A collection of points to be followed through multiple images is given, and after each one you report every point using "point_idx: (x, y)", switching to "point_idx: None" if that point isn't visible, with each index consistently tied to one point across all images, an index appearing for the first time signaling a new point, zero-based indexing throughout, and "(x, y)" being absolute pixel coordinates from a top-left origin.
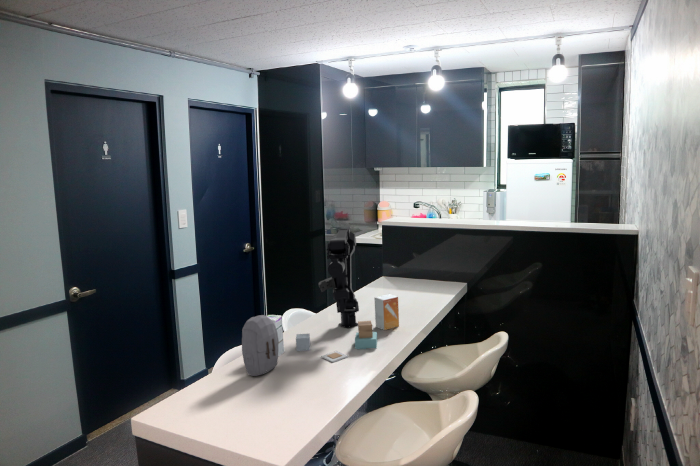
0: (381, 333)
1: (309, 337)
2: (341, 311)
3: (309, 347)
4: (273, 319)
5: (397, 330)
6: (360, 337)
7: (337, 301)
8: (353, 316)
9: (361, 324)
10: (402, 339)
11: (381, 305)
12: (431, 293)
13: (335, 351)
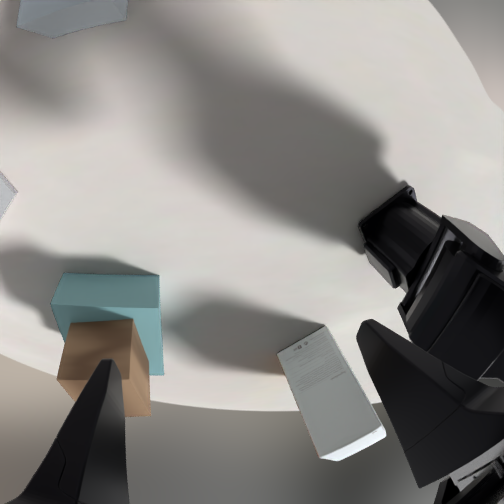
0: (247, 349)
1: (78, 10)
2: (95, 382)
3: (46, 34)
4: None
5: (264, 379)
6: (71, 329)
7: (18, 496)
8: (391, 281)
9: (79, 389)
10: (176, 394)
11: (321, 430)
12: None
13: (8, 191)
